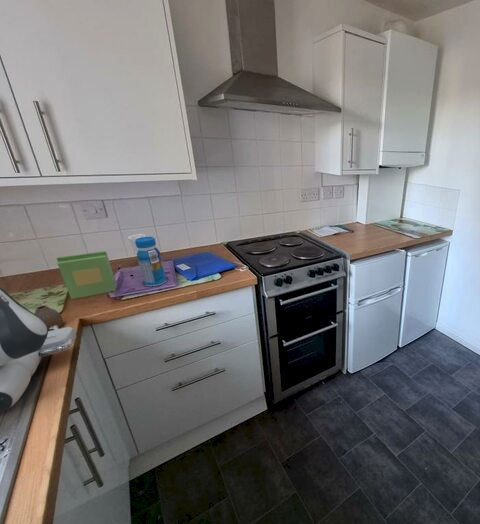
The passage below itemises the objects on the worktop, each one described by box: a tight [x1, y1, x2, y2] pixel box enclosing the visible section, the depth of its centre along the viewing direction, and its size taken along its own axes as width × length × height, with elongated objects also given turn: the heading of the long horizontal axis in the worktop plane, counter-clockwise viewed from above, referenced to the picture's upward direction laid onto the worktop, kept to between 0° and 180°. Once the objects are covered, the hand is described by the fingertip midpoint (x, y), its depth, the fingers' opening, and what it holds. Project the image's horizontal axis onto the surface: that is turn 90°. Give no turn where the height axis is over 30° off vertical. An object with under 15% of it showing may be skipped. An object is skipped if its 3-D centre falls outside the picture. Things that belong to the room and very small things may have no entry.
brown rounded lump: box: [33, 305, 64, 331], centre depth 94 cm, size 7×7×9 cm
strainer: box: [127, 233, 147, 256], centre depth 148 cm, size 7×7×15 cm
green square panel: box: [56, 250, 118, 300], centre depth 117 cm, size 14×5×16 cm, turn 122°
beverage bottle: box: [134, 236, 167, 288], centre depth 125 cm, size 8×8×20 cm
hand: (32, 332), depth 85 cm, fingers open, 8 cm apart
